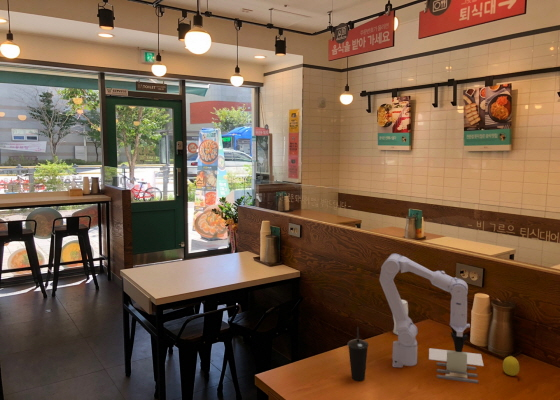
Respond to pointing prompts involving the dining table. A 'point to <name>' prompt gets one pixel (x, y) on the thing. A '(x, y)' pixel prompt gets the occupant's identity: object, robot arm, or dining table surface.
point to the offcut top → (458, 375)
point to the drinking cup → (358, 357)
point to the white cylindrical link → (406, 312)
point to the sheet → (457, 361)
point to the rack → (456, 372)
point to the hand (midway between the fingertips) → (457, 347)
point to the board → (442, 356)
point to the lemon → (511, 366)
